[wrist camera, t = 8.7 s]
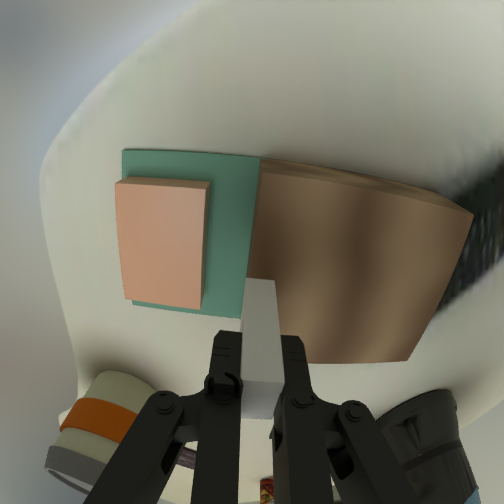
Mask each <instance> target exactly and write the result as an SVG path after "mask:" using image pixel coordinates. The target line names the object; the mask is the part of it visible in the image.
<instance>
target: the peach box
mask: <svg viewBox="0 0 504 504" xmlns="http://www.w3.org/2000/svg"><path fill="white" fill-rule="evenodd" d="M209 195H210V182H207V181H195V180H182V179H168V178H152V177H132V176H127V177H125V178H123V179H122V180H120V181H118V182H116V183H115V202H116V220H117V234H118V245H119V255H120V264H121V272H122V280H123V287H124V294H125V299H130V300H136V301H142V302H148V303H155V304H161V305H168V306H175V307H182V308H190V309H197V310H200V309H201V305H202V301H203V297H204V284H205V260H206V241H207V224H208V209H209Z"/></svg>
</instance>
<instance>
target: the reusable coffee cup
mask: <svg viewBox="0 0 504 504" xmlns="http://www.w3.org/2000/svg"><path fill="white" fill-rule="evenodd" d="M156 392H157V391H156V390H155V389H154V388H153V387H151V386H150V385H149V384H147V383H146V382H144V381H143V380H141V379H139V378H137V377H135V376H133V375H130V374H127V373H124V372H120V371H114V370H107V371H103V372H101V373H99V374H98V376H97V377H96V379H95V380H94V382H93V383H92V385H91V386H90V388H89V389H88V391H87V392H86V394H85V395H84V397H83V398H81V399H78V400H77V401H76V403H75V404H74V406H73V407H72V409H71V411H70V412H69V414H68V415H67V417H66V418H65V420H64V422H63V423H62V425H61V426H60V432H61V434H60V436H59V437H58V439H57V441H56V442H55V444H54V446H50V447H49V450H48V454H47V458H46V463H45V467H44V469H45V470H46V471H47V472H48V473H49V474H50V475H52V476H53V477H55V478H56V479H58V480H59V481H61V482H63V483H64V484H66V485H68V486H70V487H72V488H73V489H75V490H77V491H79V492H81V493H84V494H86V495H88V494H89V493H90V491H91V489H92V488H93V486H94V485H95V483H96V481H97V480H98V478H99V476H100V475H101V473H102V472H103V470H104V468H105V467H106V465H107V463H108V462H109V460H110V459H111V457H112V455H113V454H114V452H115V451H116V449H117V447H118V446H119V444H120V442H121V441H122V439H123V438H124V436H125V434H126V433H127V431H128V430H129V428H130V426H131V425H132V423H133V422H134V420H135V418H136V417H137V415H138V414H139V412H140V410H141V409H142V407H143V406H144V404H145V403H146V401H147V399H148V398H149V397H150V396H151V395H152V394H153V393H156Z"/></svg>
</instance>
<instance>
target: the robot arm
mask: <svg viewBox="0 0 504 504" xmlns="http://www.w3.org/2000/svg"><path fill="white" fill-rule="evenodd" d="M456 411H457V404H456V401H455V399H454V397H453V395H452V393H451V392H450V391H447V390H438V391H433V392H429V393H426V394H423V395H421V396H418V397H416V398H414V399H411V400H409V401H407V402H405V403H403V404H402V405H400V406H398V407H396V408H395V409H393V410H391V411H390V412H388V413H387V414H385V415H384V416H383V417H381V418H380V419H379V420H378V421H377V422H376V421H375V419H374V417H373V416H372V414H371V412H370V410H369V409H368V408H367V406H366V405H365V404H363V403H361V402H360V401H355V400H350V401H346V402H344V403H342V405H337V404H333V403H329V402H326V401H323V400H321V399H320V398H318V397H317V395H316V394H315V393H314V392H313V390H312V387H311V381H310V375H309V369H308V363H307V358H306V352H305V346H304V343H303V342H302V340H301V339H300V338H299V336H293V335H280V327H279V317H278V307H277V298H276V289H275V280H264V279H254V278H246V281H245V289H244V298H243V306H242V314H241V327H240V332H233V331H224V330H220V331H219V332H218V333H217V335H216V336H215V337H214V342H213V348H212V356H211V361H210V368H209V374H208V375H207V376H206V378H205V381H204V389H203V390H202V391H200V392H199V393H196V394H193V395H189V396H181V397H179V396H178V395H177V394H175V393H173V392H171V391H166V390H165V391H158V392H156V393H153V394H152V395H151V396H150V397H149V398H148V399H147V401H146V403H145V404H144V406H143V407H142V409H141V410H140V412H139V414H138V415H137V417H136V418H135V420H134V422H133V423H132V425H131V426H130V428H129V430H128V431H127V433H126V434H125V436H124V438H123V439H122V441H121V442H120V444H119V446H118V447H117V449H116V451H115V452H114V454H113V455H112V457H111V459H110V460H109V462H108V463H107V465H106V467H105V468H104V470H103V472H102V473H101V475H100V476H99V478H98V480H97V481H96V483H95V485H94V486H93V488H92V489H91V491H90V493H89V494H88V496H87V498H86V499H85V501H84V503H83V504H157V502H158V500H159V498H160V496H161V494H162V492H163V490H164V488H165V486H166V484H167V482H168V480H169V477H170V475H171V473H172V471H173V469H174V467H175V465H176V463H177V461H178V459H179V457H180V455H181V453H182V451H183V448H184V446H185V444H186V442H193V441H198V445H197V452H196V460H195V468H194V477H193V485H192V494H191V503H190V504H238V482H239V451H240V423H241V418H250V419H272V418H273V415H274V425H273V428H272V430H271V433H270V436H269V439H272V447H273V480H274V504H481V501H480V497H479V492H478V489H479V487H478V486H477V484H476V481H475V478H474V475H473V472H472V470H471V467H470V464H469V461H468V459H467V456H466V454H465V451H464V448H463V446H462V444H461V441H460V438H459V431H458V420H457V414H456ZM330 474H331V476H330ZM331 477H332V479H333V481H334V484H335V486H336V488H337V490H338V492H339V495H340V497H341V499H339V500H334V499H333V491H332V483H331Z"/></svg>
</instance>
